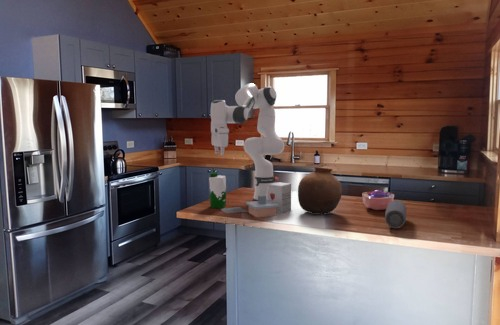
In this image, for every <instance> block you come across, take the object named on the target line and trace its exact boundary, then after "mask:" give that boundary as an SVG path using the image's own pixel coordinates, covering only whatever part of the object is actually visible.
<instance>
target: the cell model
mask: <svg viewBox="0 0 500 325" xmlns="http://www.w3.org/2000/svg"><path fill="white" fill-rule="evenodd" d="M361 196H362V202H363V204H364V205H365V207H367V208H369V209H372V210H374V211H384V210H386V209H387V206H388V204H389V203H390V202H391V201H393V200H394V198H395V194H394V193H392V192H388V191H385V190H384V189H382V190H381V189H376V190H373V191H365V192H362V195H361Z"/></svg>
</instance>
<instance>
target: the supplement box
mask: <svg viewBox="0 0 500 325" xmlns="http://www.w3.org/2000/svg"><path fill="white" fill-rule="evenodd" d="M269 200H270V201H272V202H274V203H276V204H278V205H279V207H276V213H281V214H282V213H283V214H284V213H286V212H289V211H292V183H288V182H280V181H279V182H278V181H277V182H276V183H272V184H269Z"/></svg>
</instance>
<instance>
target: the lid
mask: <svg viewBox="0 0 500 325" xmlns="http://www.w3.org/2000/svg"><path fill="white" fill-rule="evenodd" d="M245 203H246V204H245V205H247V206H248V207H249V206H250V207H252V208H254V209H263V208H273V207H279V205H278V204H276V203H274V202H272V201H270V200H266V196H265V195H259V196H258V200H253V201H252V200H251V201H246V202H245Z"/></svg>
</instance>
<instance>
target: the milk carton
mask: <svg viewBox="0 0 500 325" xmlns="http://www.w3.org/2000/svg"><path fill="white" fill-rule="evenodd" d="M209 174H210V176H209V178H208V181H209V182H208V183H209V201H210V203H209V204H210V208H211V209H223V208H226V207H225V206H226V205H227V181H226V180H227V178H226V177H227V176H226V175H218V172H210V173H209Z"/></svg>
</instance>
